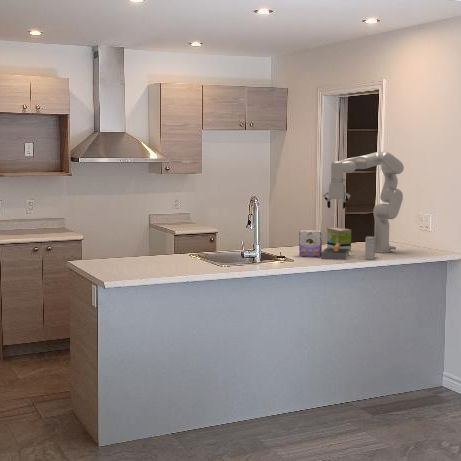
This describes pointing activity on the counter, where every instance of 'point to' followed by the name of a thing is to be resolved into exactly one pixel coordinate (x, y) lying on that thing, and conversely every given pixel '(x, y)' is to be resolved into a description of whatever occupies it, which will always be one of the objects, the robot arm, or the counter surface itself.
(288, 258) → the counter surface
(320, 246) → the candy box
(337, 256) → the breaker panel
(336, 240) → the tea box
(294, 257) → the counter surface
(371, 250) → the junction box
